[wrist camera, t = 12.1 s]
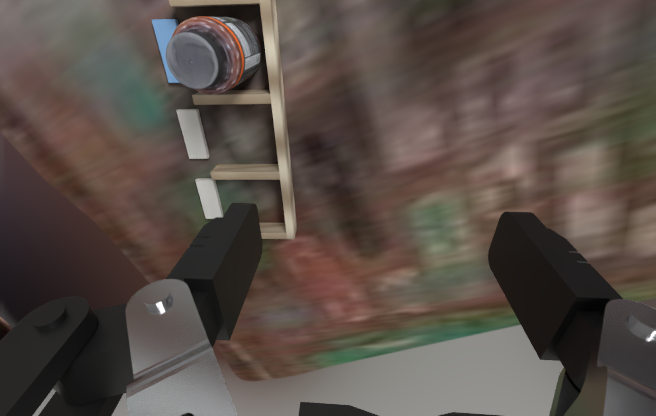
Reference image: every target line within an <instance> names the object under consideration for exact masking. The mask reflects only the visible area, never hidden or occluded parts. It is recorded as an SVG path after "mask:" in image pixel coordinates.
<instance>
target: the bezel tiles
mask: <svg viewBox="0 0 656 416" xmlns="http://www.w3.org/2000/svg"><path fill="white" fill-rule="evenodd" d="M152 23H153V27H154V30H155V34H156V38H157V41H158V45H159V49H160V52H161V56H162V60H163V64H164V67H165V71H166V75H167V78H168V82H169V83H180V82H179V81H178V80H177V79H176V78H175V77H174V76H173V74H172V73H171V71H170V69H169V67H168V64H167V60H166V48H167V45H168V43H169V41H170V39H171V37H172V34H173V32H174V31H175V29H176V28H177V26H178V25H179V24H178V20H177V19H161V20H152ZM176 111H177V115H178V119H179V122H180V126H181V130H182V133H183V137H184V141H185V144H186V148H187V152H188V155H189V159H208V158H209V157H210V155H209V151H208V147H207V143H206V138H205V134H204V130H203V126H202V122H201V117H200V113H199V109H178V110H176ZM195 181H196V185H197V188H198V192H199V196H200V199H201V203H202V207H203V210H204V214H205V218H206V219H214V218H216V217H223V216H224V215H223V211H222V206H221V202H220V198H219V194H218V189H217V185H216V181H215V180H212V178H197V179H196V180H195Z"/></svg>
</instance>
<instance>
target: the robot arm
mask: <svg viewBox="0 0 656 416" xmlns="http://www.w3.org/2000/svg"><path fill="white" fill-rule="evenodd" d="M261 254H262V236H261V230H260V223H259V216H258V210H257V206H256V205H255V204H245V203H232V204H231V205H230V207H229V208H228V210H227V211H226V213H225V214H224V216H223V217H216V218H214V219H213V220H212V221H210V222H209V223H207V224H206V225H204V226H203V228H202V229H201V231H200V232H199V233H198V235H197V236H196V239H194V240H193V242H192V243H191V245H190V247H188V249H187V250H186V252H185V253H184V254H183V256H182V257H181V259H180V260H179V262H178V263H177V264H176V266H175V267H174V269H173V270H172V271H171V273H170V274H169V276H168V277H167V278H166V279H165V280H160V281H157V282H154V283H151V284H149V285H147V286H145V287H143V288H142V289H140V290H139V291H138V292H137V293H135V294H134V295H133V297H132V298H131V299H130V300H129V302H128V303H127V304H122V305H118V306H113V307H107V308H102V309H98V310H92V309H91V306H90V305H89V303H88V302H87V301H86V299H84V298H81V297H65V298H61V299H57V300H54V301H51V302H49V303H46V304H44V305H42V306H41V307H38V308H37V309H35V310H34V311H32V312H31V313H29V314H28V315H27V316H25V318H23V319H22V320H21V321H20V322H19V323H18V324H17V325H16V326H15V327H14V328H13V329H12V330H11V331H10V332H9V333H8V334H7V335H6V336H5V337H4V338H3V339H2V340H1V341H0V416H32V415H33V414H34V413H35V411H36V410H37V408H38V407H39V406H40V405H41V403H42V402H43V401H44V399H45V398H46V397H47V395H48V394H49V393H50V391H51V390H52V389H53V388H54V389H55V390H56V392H55V394H54V395H53V397H52V398H51V399H50V401H49V402H48V403H47V405H46V406H45V407H44V409H43V410H42V412H41V413H40V414H39V416H111V415H112V413H113V412H114V410H115V408H116V406H117V404H118V403H119V401H120V399H121V397H122V395H123V393H126V394H127V406H128V416H238V415H237V412H236V410H235V407H234V404H233V402H232V399H231V396H230V394H229V391H228V388H227V386H226V383H225V380H224V378H223V375H222V372H221V370H220V367H219V364H218V362H217V359H216V357H215V354H214V351H213V349H212V348H213V345H214V343H215V341H216V340H230V338H231V335H232V332H233V330H234V327H235V324H236V322H237V319H238V317H239V314H240V311H241V309H242V306H243V303H244V301H245V298H246V295H247V293H248V290H249V288H250V285H251V282H252V280H253V277H254V274H255V272H256V269H257V267H258V264H259V261H260V259H261ZM488 260H489V266H490V268H491V270H492V272H493V274H494V276H495V278H496V279H497V281H498V283H499V285H500V287H501V289H502V290H503V292H504V294H505V296H506V298H507V300H508V301H509V303H510V305H511V307H512V309H513V311H514V313H515V314H516V316H517V318H518V320H519V322H520V324H521V325H522V327H523V329H524V331H525V333H526V335H527V336H528V338H529V340H530V342H531V344H532V346H533V347H534V349H535V351H536V352H537V355H538V357H539V358H540V359H541V360H559V361H561V363H562V365H563V366H564V368H563V370H562V371H561V373H560V375H559V378H558V382H557V386H556V390H555V395H554V398H553V402H552V407H551V410H550V415H549V416H656V309H654V308H652V307H650V306H648V305H645V304H642V303H639V302H636V301H632V300H626V299H623V298H622V297H621V296H620V295H619V294H618V293H617V292H616V291H615V290H614V289H613V288H612V287H611V286H610V285H609V284H608V282H607V281H606V280H605V279H604V278H603V277H602V276H601V275H600V274H599V273H598V272H597V271H596V270H595V269H594V268H593V267H592V266H591V265H590V264H587V260H586V259H585V258H584V257H583V256H582V255H581V254H580V253H577V250H576V249H575V248H574V247H573V246H572V245H571V244H570V243H569V242H568V241H567V240H566V239H565V238H564V237H562V236H560V235H559V234H557V233H556V232H554V231H552V230H551V229H547V228H546V227H545V226H544V225H543V223H542V222H541V221H540V220H539V219H538V218H537V217H536V216H535V215H534V214H533V213H530V212H504V213H503V214H502V215H501V217H500V219H499V222H498V225H497V228H496V231H495V234H494V237H493V240H492V243H491V246H490V249H489V253H488ZM299 416H378V415H375V414H372V413H369V412H367V411H364V410H361V409H358V408H356V407H353V406H350V405H337V404H323V403H309V402H301V403H300V410H299ZM440 416H498V415H484V414H469V413H455V412H452V413H448V414H444V415H440Z"/></svg>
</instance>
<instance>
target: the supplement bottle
mask: <svg viewBox="0 0 656 416" xmlns="http://www.w3.org/2000/svg"><path fill="white" fill-rule="evenodd" d="M261 57H262V50H261V45H260V41H259V39H258V37H257V35H256V33H255V32H254V31H253V29H252V28H251V27H250V26H249V25H248V24H246V23H245V22H243V21H241V20H239V19H236V18H231V17H208V16H207V17H206V16H198V17H192V18H189V19H187V20H185V21H183V22H182V23H180V24H179V25H178V26H177V28H176V29H175V31H174V32H173V34H172V37H171V39H170V41H169V43H168V45H167V48H166V60H167V64H168V67H169V69H170V71H171V73H172V74H173V76H174V77H175V78H176V79H177V80H178V81H179V82H180V83H181V84H183V85H184V86H186V87H189V88H192V89H194V90H196V91H198V92H201V93H204V94H209V95H217V94H222V93H224V92H226V91H228V90H230V89H232V88H234V87H235V86H237V85H238V84H240V83H241V82H243V81H245V80H246V79H248V78H249V77H251V76H252V75H253V74H254V73H255V72H256V70H257V69H258V67H259V65H260V62H261Z"/></svg>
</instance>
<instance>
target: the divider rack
mask: <svg viewBox="0 0 656 416" xmlns="http://www.w3.org/2000/svg"><path fill="white" fill-rule="evenodd" d="M169 3H170V6H173V7H204V6H233V5H260V10H261V19H262V28H263V36H264V45H265V53H266V62H267V70H268V79H269V88H270V90H228V91H226V92H224V93H222V94H217V95H209V94H204V93H201V92H198V93H195V94H193V95H192V98H193V102H194V105H218V104H271V105H272V113H273V122H274V131H275V139H276V148H277V156H278V164H217V165H216V167H215V168H214V169H213V170H212V171H211V172H210V173H211V177H212V180H280V182H281V191H282V199H283V208H284V216H285V223H260V230H261V236H262V239H295V234H296V230H297V224H296V214H295V203H294V193H293V182H292V172H291V161H290V150H289V140H288V129H287V119H286V108H285V98H284V87H283V76H282V66H281V55H280V45H279V34H278V23H277V13H276V2H275V0H169Z"/></svg>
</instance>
